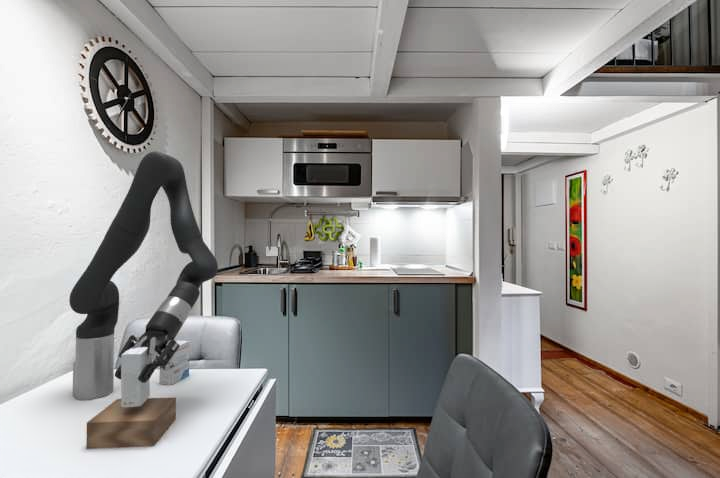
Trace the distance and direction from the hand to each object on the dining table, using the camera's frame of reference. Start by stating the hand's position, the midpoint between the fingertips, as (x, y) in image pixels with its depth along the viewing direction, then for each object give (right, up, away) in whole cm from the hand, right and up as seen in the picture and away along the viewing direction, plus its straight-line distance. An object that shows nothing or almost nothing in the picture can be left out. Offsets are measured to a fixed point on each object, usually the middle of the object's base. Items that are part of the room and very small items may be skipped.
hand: (129, 379), depth 85 cm
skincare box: (0, -6, +2) cm, 6 cm away
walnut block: (0, -14, +1) cm, 14 cm away
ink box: (-7, -14, +35) cm, 38 cm away
